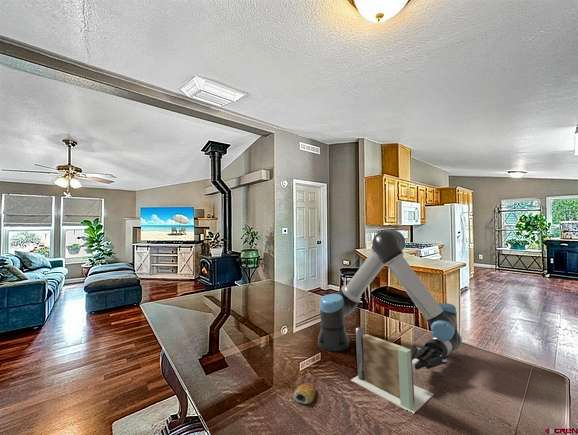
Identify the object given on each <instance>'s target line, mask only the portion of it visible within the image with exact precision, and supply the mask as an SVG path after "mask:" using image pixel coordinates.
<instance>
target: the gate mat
mask: <svg viewBox="0 0 578 435" xmlns="http://www.w3.org/2000/svg"><path fill="white" fill-rule="evenodd" d="M350 381H351V382H353V383H354V384H357V385H358V386H360V387H362V388H364V389H365V390H367V391H369V392H371V393H373V394H375V395H377V396H379V397H380V398H383V399H384V400H386V401H388V402H390V403H392V404H394V405H395V406H398V407H399V408H401V409H403V410H405V411H407V410H408V411H407V412H409V411H410V412H412V413H413V414H412V413H411V414H412V415H414V413H415V412H416V411H417V410H418V411H419V410H420V409H421V408H422V407H423V406H424V405H425V404H427V402H428V401H429V400H430V399H431V398H432V397H433V396H434V394H435V393H432V392H430V391H428V390H426V389H424V388H422V387H419V386H417V385H415V384H414V401H415V402H414V403H413V407H412V408H411V409H410V410H409V409H407V408H405V407H403V406H401V404H400V397H398V396H396V395H394V394H392V393H390V392H388V391H386V390H384V389H382V388H380V387H378V386H376V385H374V384H372V383H370V382H368V381H366V380H360V379H358V375H357V376H355V377H353V378H351V379H350ZM418 411H417V412H418ZM410 412H409V413H410ZM417 412H416V413H417ZM416 413H415V414H416Z"/></svg>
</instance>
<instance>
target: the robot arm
mask: <svg viewBox="0 0 578 435" xmlns="http://www.w3.org/2000/svg"><path fill="white" fill-rule="evenodd" d="M371 245H372V246H371V247H370V249H371V252H370V254H369V255H368V256H367V258H366V259H365V260H364V261H363V263H362V264H361V266H360V267H359V268H358V270H357V271H356V273H355V274H354V275H353V276H352V278H351V279H350V280H349V282H348V283H347V284H346V285H342V286H341V288H340V289H339V290H338V292H337V293H328V294H325V295H323V296H321V297H320V299H319V313H320V314H319V315H320V331H319V335H318V338H317V345H318V347H319V348H320V349H322V350H324V351H327V352H342V351H345V350H347V349H348V348H349V347H350V340H349V336H348V334H347V332H346V329H345V328H346V327H345V326H346V325H345V318H346V317H347V316H349V315H350V314H352V313H354V312H355V310H356V309H357V307H358V305H359V303H360V302H361V301H362V299H361V296H362V295H363V293H364V292H365V291H366V290H367V288H368V287H369V285H371V283H372V282H373V280H374V279H375V278H376V277H377V275H378V274H379V273H380V272H381V270H382V269H383V268H384V266H386V267H388V268H389V270H390V271H391V272H392V274H393V275H394V277H395V279H396V280H397V281H398V282H399V284H400V286H401V287H402V288H403V290H404V291H405V292H406V294H407V295H408V296H409V297H410V299H411V301H412V303H414V305H415V306H416V308H417V309H418V310H419V312H420V313H421V314H422V317H424V319H425V320H426V321H427V323H428V324H429V326H430V329H431V330H430V331H431V334H432V336H433V337H432V338H431V339H430V340H428V341H427V342H425V343H424V345H423V346H421V347H418V346H416V345H413V348H412V349H411V350H412V365H413V373H414V372H416V370H417V371H418V370H419V371H420V369H422V368H424V369H427V370H430V369H433V368H435V367H438V366H440V365H447V364H448V357H447V356H449V355H450V354H451V353H453V352H454V351H455V350H457V349H458V348H459V347H460V346H461V345H462V342H463V338H462V336H461V334H460V332H459V331H458V318H457V317H458V316H457V314H458V313H457V307H456V306H455V305H454V304H453V303H452V304H451V303H447V302H437V300H436V299H435V298H434V296H433V295H432V294H431V292H430V291H429V290H428V288H427V287H426V286H425V284H424V283H423V281H422V280H421V279H420V277H419V276H418V274H417V273H416V272H415V271H414V269H413V268H412V266H410V263H409V262H408V261H407V260H406V258H405V257H404V251H403V250H404V249H405V246H406V238H405V235H403V234H402V233H401V232H400V231H398V230H396V229H387V230H381V231H379V232H377V233H376V234H374V237H373V238H372V244H371Z"/></svg>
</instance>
